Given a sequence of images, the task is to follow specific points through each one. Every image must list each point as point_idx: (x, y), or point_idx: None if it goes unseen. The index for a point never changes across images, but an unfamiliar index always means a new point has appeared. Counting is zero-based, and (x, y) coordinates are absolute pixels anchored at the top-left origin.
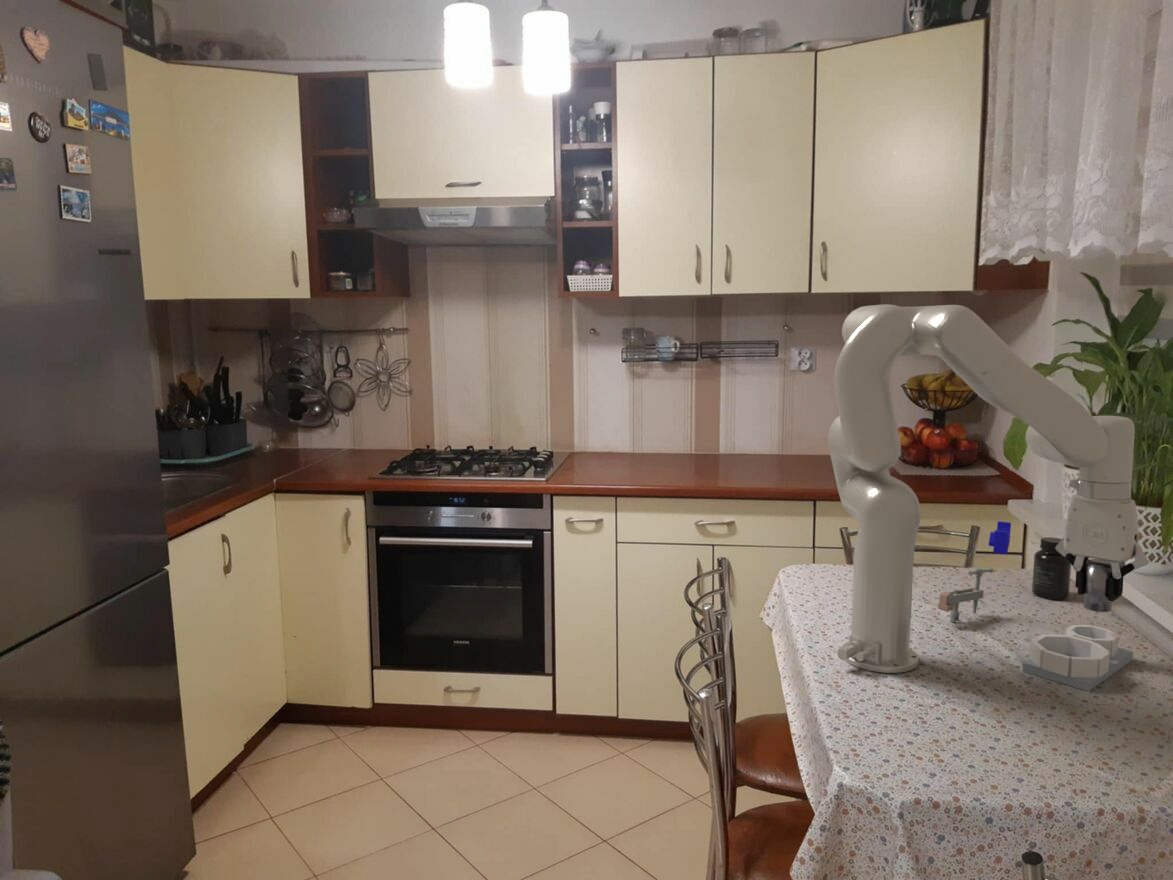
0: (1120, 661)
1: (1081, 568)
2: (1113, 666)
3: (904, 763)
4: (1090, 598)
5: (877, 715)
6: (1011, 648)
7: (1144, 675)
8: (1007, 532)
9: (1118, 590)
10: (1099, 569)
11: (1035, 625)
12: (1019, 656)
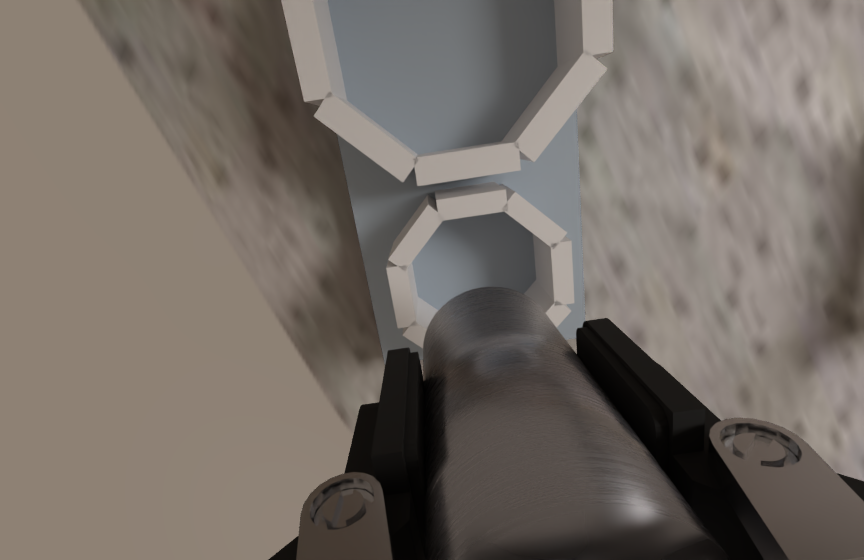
0: (362, 251)
1: (714, 465)
2: (347, 182)
3: None
4: (513, 312)
5: None
6: (691, 95)
7: (297, 259)
8: None
9: (361, 425)
10: (511, 478)
11: (719, 378)
12: (634, 39)
